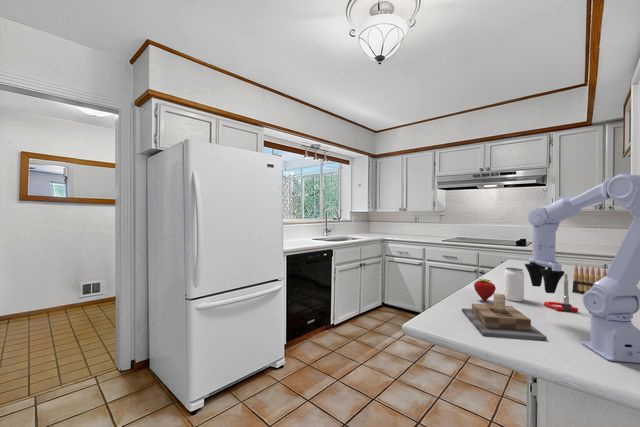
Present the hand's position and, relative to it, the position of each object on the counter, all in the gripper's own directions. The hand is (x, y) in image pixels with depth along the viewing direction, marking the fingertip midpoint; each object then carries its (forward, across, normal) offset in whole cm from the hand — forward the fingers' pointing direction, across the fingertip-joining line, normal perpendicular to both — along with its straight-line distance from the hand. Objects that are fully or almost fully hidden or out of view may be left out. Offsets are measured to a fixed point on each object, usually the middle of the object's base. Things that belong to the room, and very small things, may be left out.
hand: (542, 289), depth 92 cm
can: (+11, -24, +2) cm, 26 cm away
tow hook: (+11, -17, +14) cm, 25 cm away
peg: (+9, +4, -14) cm, 17 cm away
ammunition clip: (+11, -37, +36) cm, 53 cm away
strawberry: (+11, -20, -10) cm, 25 cm away
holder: (+10, +4, -14) cm, 18 cm away
